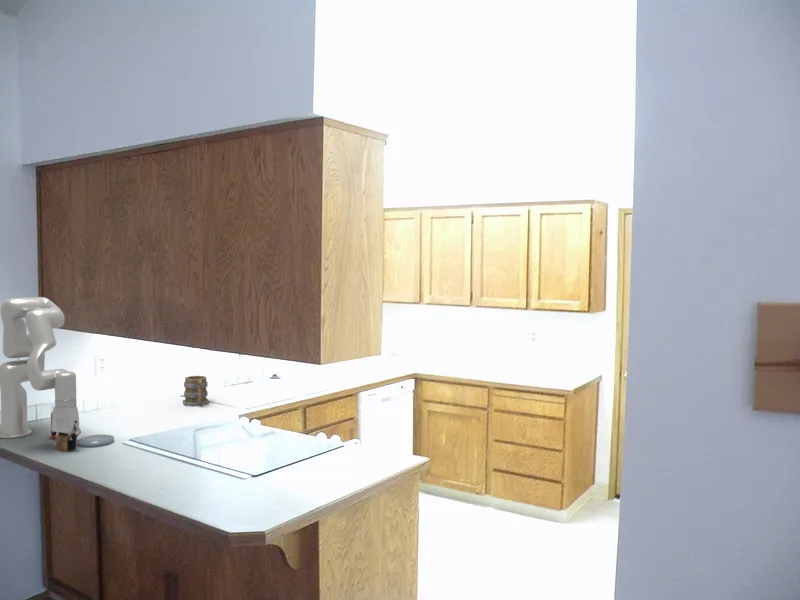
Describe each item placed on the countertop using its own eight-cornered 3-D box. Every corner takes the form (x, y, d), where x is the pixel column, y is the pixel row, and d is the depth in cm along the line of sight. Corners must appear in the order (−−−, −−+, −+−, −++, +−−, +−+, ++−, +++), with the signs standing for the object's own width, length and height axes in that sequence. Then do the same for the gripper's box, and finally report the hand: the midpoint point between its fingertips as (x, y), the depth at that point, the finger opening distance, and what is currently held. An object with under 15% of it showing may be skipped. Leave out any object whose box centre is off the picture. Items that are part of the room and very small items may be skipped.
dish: (68, 445, 260) (68, 441, 260) (95, 436, 273) (95, 433, 273) (94, 449, 255) (94, 445, 255) (121, 440, 268) (121, 436, 268)
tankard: (181, 402, 342) (181, 374, 341) (206, 400, 347) (206, 372, 346) (186, 410, 324) (186, 380, 323) (212, 408, 329) (212, 379, 328)
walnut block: (56, 450, 253) (56, 435, 253) (66, 446, 258) (66, 432, 258) (65, 451, 251) (65, 436, 251) (76, 448, 256) (76, 433, 256)
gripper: (41, 403, 253) (42, 448, 254) (74, 407, 247) (75, 453, 248) (57, 399, 260) (58, 443, 261) (90, 403, 254) (90, 448, 255)
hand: (66, 448), depth 255 cm, fingers closed on walnut block, 5 cm apart
